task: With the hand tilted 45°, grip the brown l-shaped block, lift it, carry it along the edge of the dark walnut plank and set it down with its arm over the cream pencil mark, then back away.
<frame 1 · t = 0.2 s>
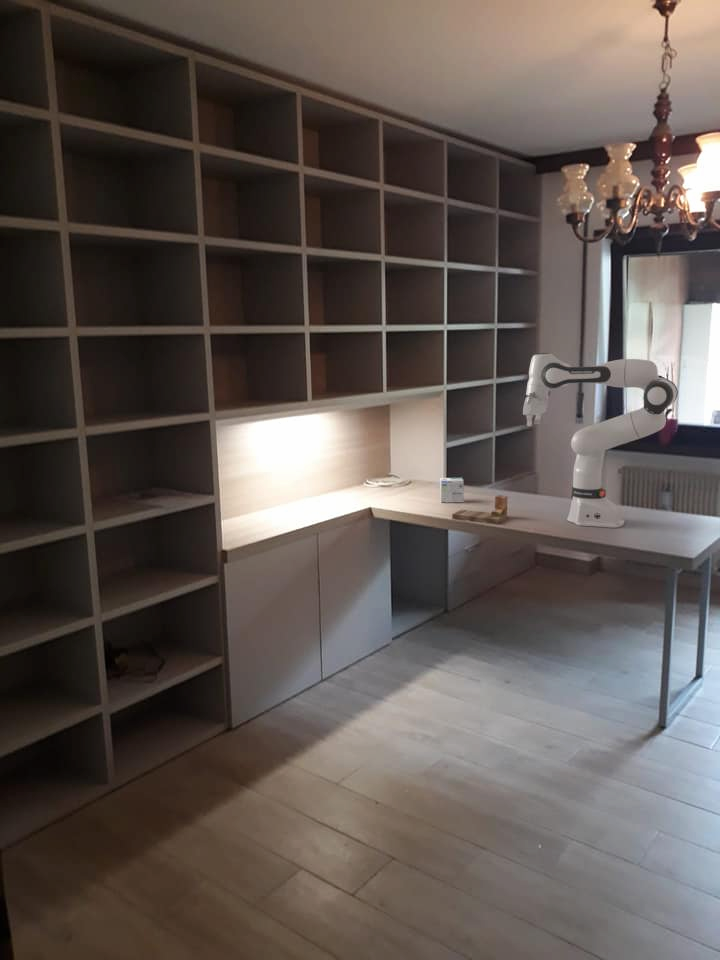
hand: (532, 424, 325), 39 cm above the table, tool pointing down, fingers open, 8 cm apart
brown l-shaped block: (500, 517, 329), on the table
light bulb box: (451, 502, 360), on the table
plank: (478, 519, 326), on the table
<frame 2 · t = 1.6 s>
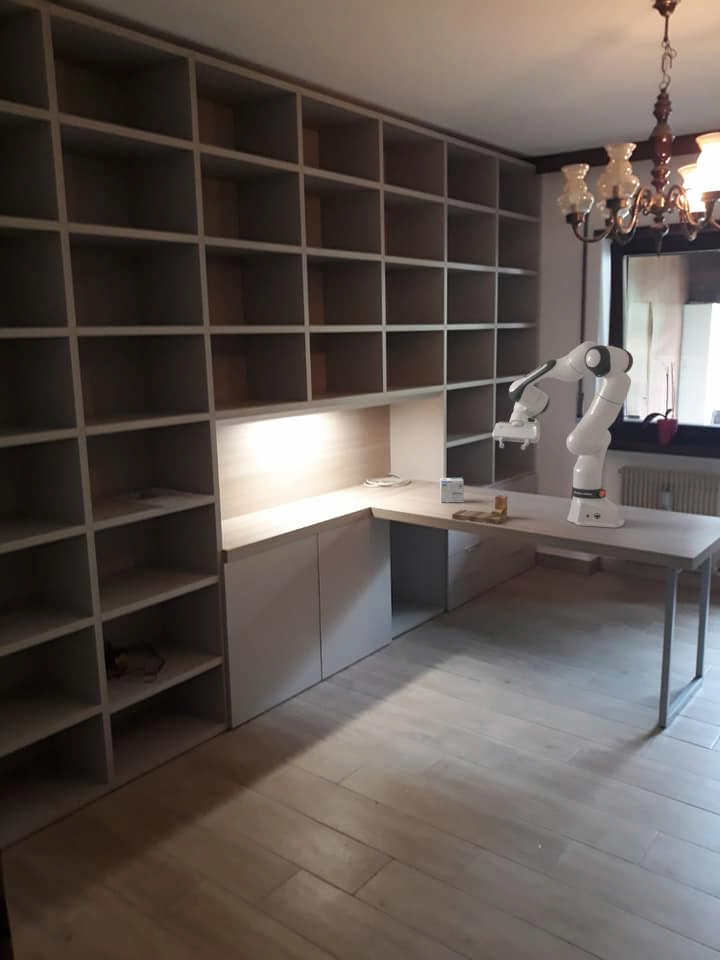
hand: (511, 448, 334), 28 cm above the table, tool tilted 45°, fingers open, 8 cm apart
nothing on the table moved.
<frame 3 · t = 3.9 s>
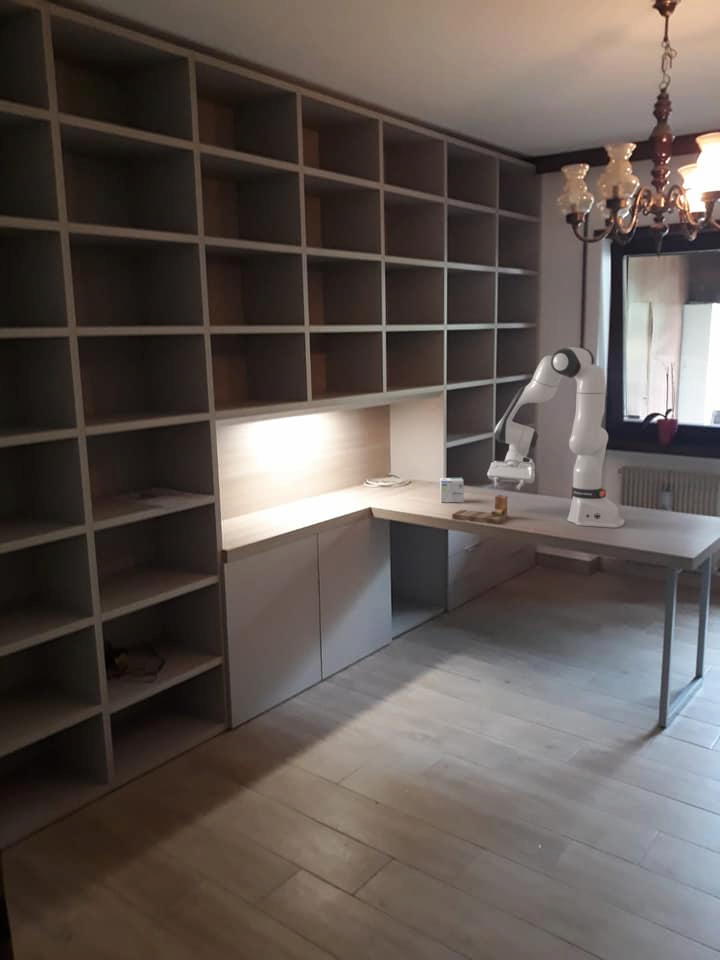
hand: (506, 488, 333), 11 cm above the table, tool tilted 45°, fingers open, 8 cm apart
nothing on the table moved.
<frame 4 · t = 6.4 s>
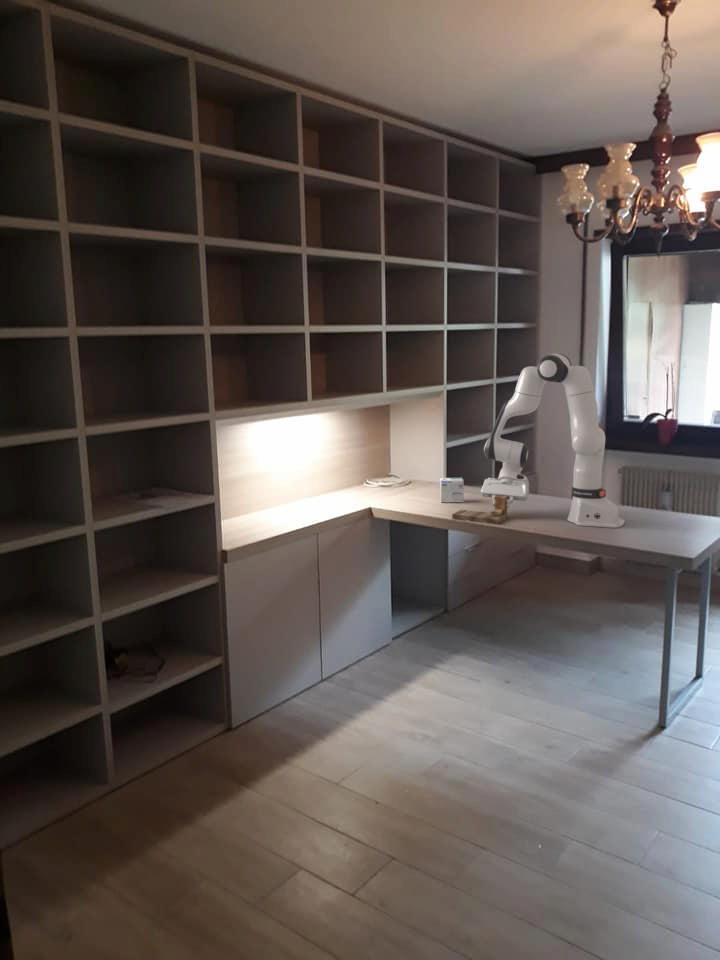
hand: (500, 506, 328), 5 cm above the table, tool tilted 45°, fingers closed on brown l-shaped block, 4 cm apart
brown l-shaped block: (500, 517, 329), on the table, touching gripper
everything else where it was.
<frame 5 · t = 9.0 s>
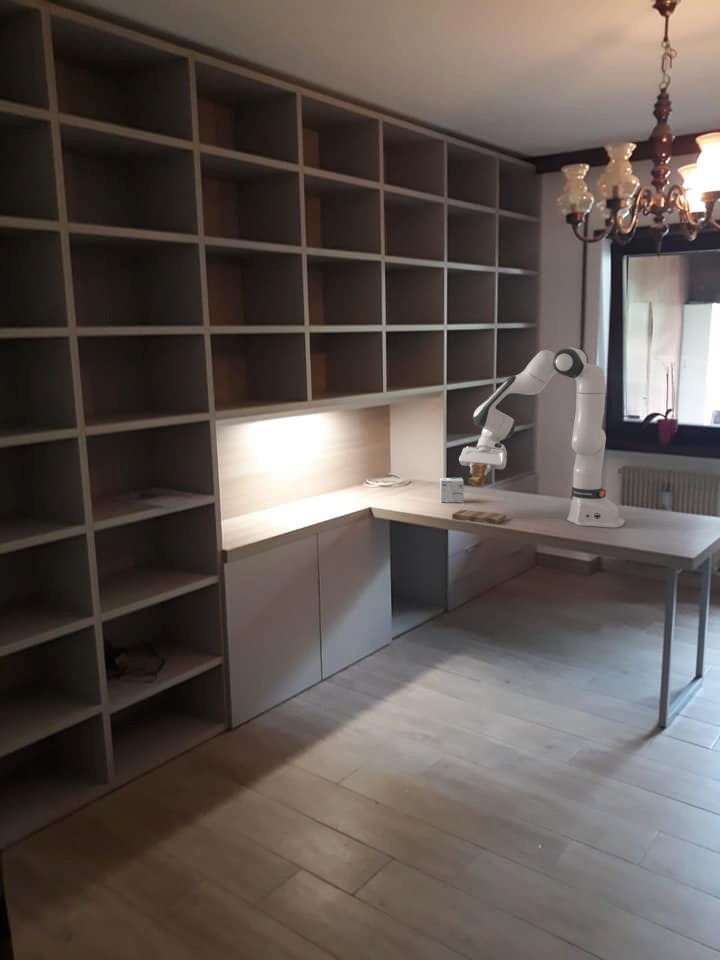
hand: (477, 474, 330), 18 cm above the table, tool tilted 45°, fingers closed on brown l-shaped block, 4 cm apart
brown l-shaped block: (478, 485, 332), point 13 cm above the table, touching gripper
everything else where it was.
when the fingers open (6 cm above the table, at t = 11.8 s): brown l-shaped block drops 1 cm, on the table.
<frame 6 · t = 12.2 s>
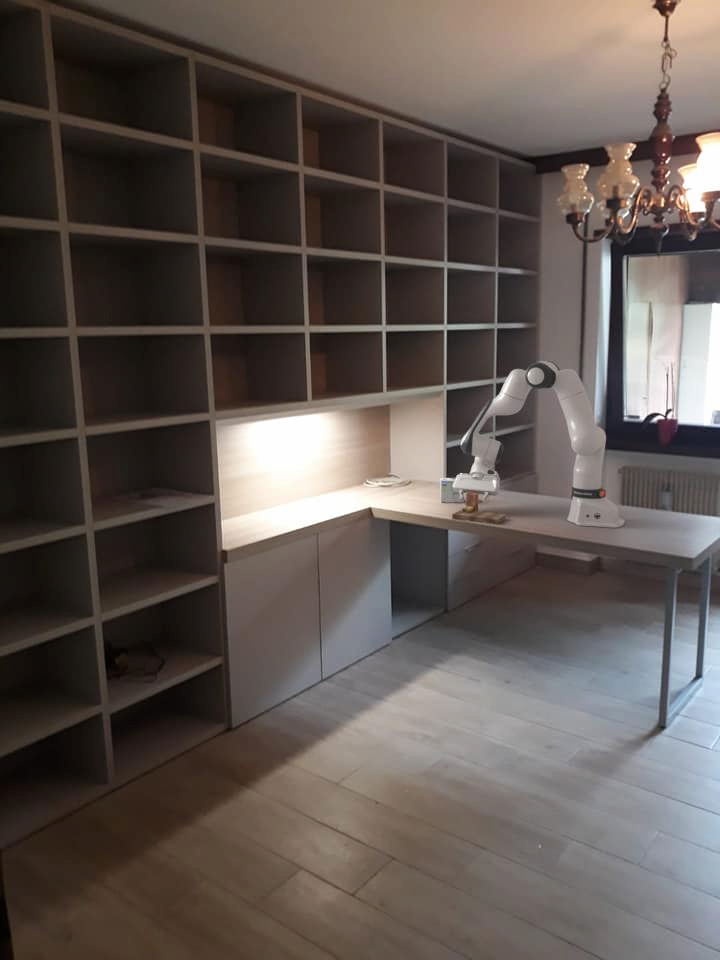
hand: (471, 500, 334), 6 cm above the table, tool tilted 45°, fingers open, 8 cm apart
brown l-shaped block: (471, 513, 335), on the table
everything else where it was.
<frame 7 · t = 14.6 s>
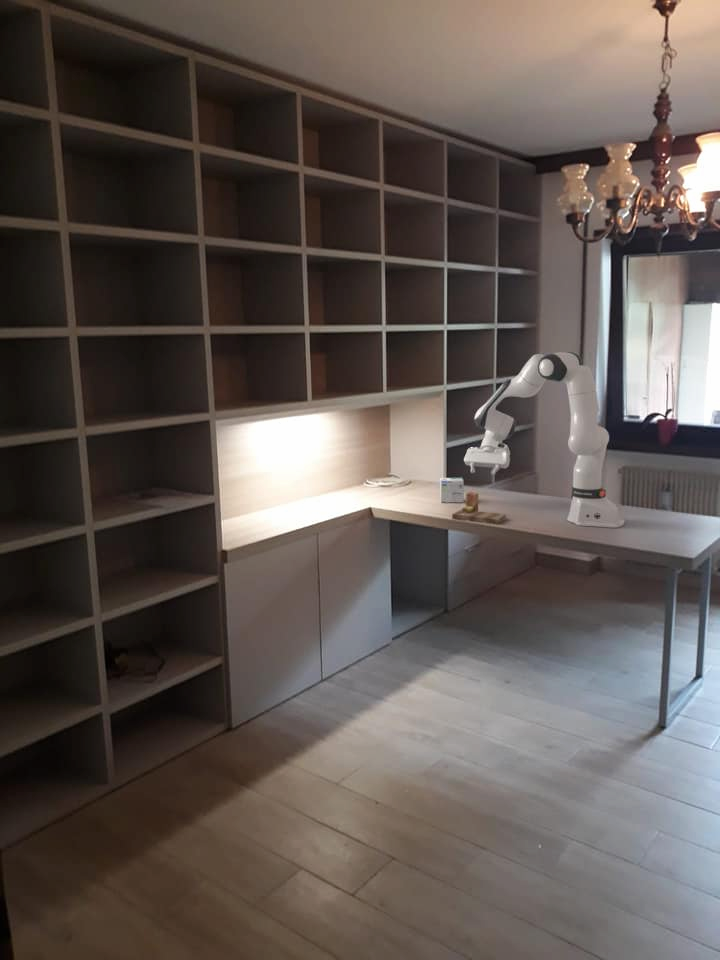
hand: (482, 473, 343), 16 cm above the table, tool tilted 45°, fingers open, 8 cm apart
nothing on the table moved.
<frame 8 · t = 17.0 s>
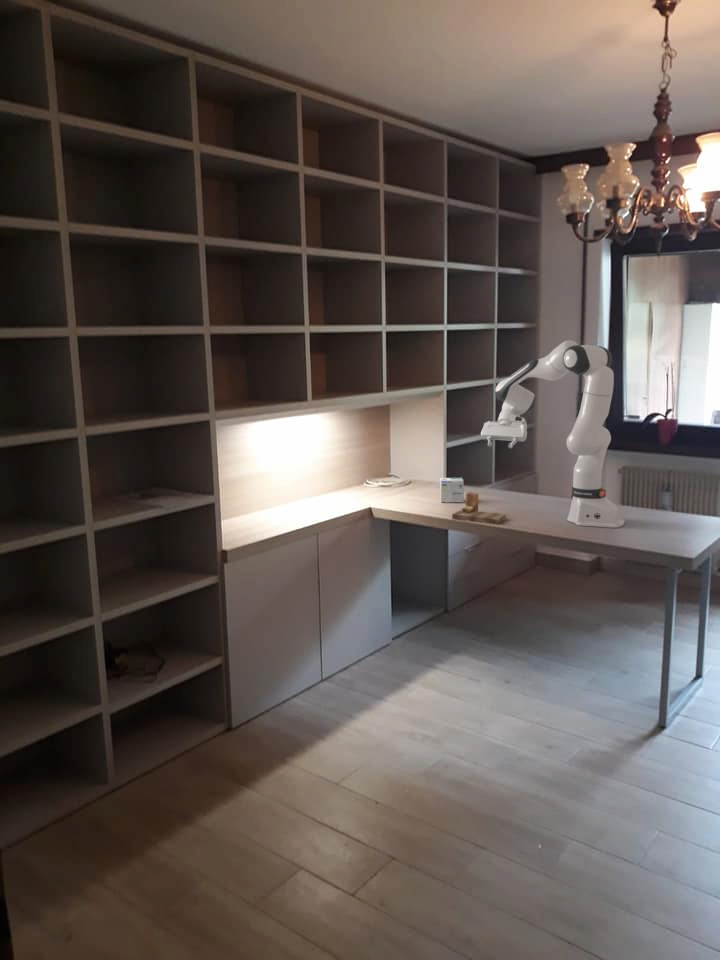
hand: (499, 446, 342), 27 cm above the table, tool tilted 45°, fingers open, 8 cm apart
nothing on the table moved.
at the end: brown l-shaped block 0.1 cm from the target spot, on the table; brown l-shaped block tilted 0°; the gripper is holding nothing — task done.
